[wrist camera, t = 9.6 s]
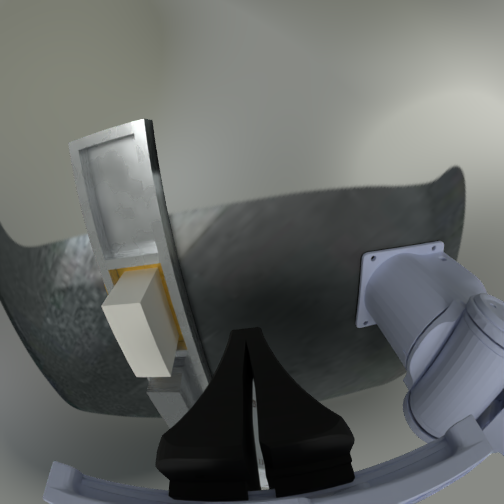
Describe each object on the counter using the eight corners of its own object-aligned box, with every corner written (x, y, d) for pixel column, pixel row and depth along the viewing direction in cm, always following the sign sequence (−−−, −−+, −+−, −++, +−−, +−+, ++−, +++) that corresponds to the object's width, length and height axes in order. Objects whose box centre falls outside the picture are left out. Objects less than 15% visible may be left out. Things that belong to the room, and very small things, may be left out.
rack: (152, 120, 17) (123, 115, 12) (218, 397, 28) (218, 437, 23) (80, 141, 17) (37, 147, 12) (168, 399, 28) (162, 437, 23)
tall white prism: (157, 267, 21) (140, 302, 16) (179, 335, 24) (170, 376, 19) (124, 271, 21) (101, 305, 16) (149, 337, 23) (136, 377, 19)
